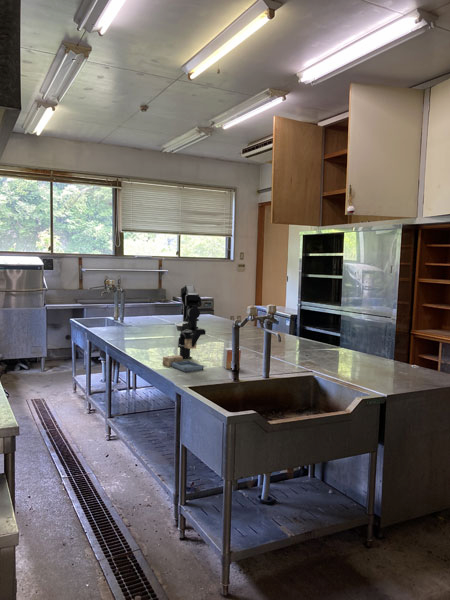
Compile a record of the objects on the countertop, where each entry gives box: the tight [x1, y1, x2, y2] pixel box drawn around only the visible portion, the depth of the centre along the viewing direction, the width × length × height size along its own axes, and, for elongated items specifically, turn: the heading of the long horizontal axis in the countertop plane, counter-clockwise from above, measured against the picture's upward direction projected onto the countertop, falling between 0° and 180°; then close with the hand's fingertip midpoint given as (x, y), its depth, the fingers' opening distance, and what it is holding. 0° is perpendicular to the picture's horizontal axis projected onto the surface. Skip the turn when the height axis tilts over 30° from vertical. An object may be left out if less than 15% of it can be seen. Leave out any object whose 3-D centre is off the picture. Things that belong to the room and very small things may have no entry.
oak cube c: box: [162, 355, 175, 367], centre depth 252 cm, size 4×4×4 cm
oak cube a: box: [185, 339, 198, 350], centre depth 248 cm, size 4×4×4 cm
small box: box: [222, 347, 242, 370], centre depth 254 cm, size 8×6×10 cm
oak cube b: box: [171, 354, 184, 362], centre depth 255 cm, size 4×4×4 cm
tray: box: [170, 360, 204, 373], centre depth 248 cm, size 14×12×2 cm
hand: (190, 346), depth 248 cm, fingers closed on oak cube a, 4 cm apart
